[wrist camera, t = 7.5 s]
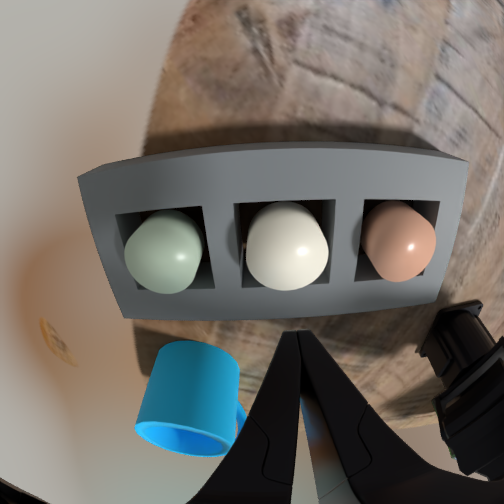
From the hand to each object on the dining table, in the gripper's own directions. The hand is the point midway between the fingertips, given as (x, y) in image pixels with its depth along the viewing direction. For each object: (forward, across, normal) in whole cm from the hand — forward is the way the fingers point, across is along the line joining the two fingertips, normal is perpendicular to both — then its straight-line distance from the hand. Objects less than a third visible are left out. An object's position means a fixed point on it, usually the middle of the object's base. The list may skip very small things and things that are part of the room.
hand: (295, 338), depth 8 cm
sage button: (+8, +6, 0) cm, 10 cm away
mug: (+10, +7, +16) cm, 20 cm away
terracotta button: (+8, -7, 0) cm, 10 cm away
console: (+9, 0, 0) cm, 9 cm away
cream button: (+8, 0, 0) cm, 8 cm away
